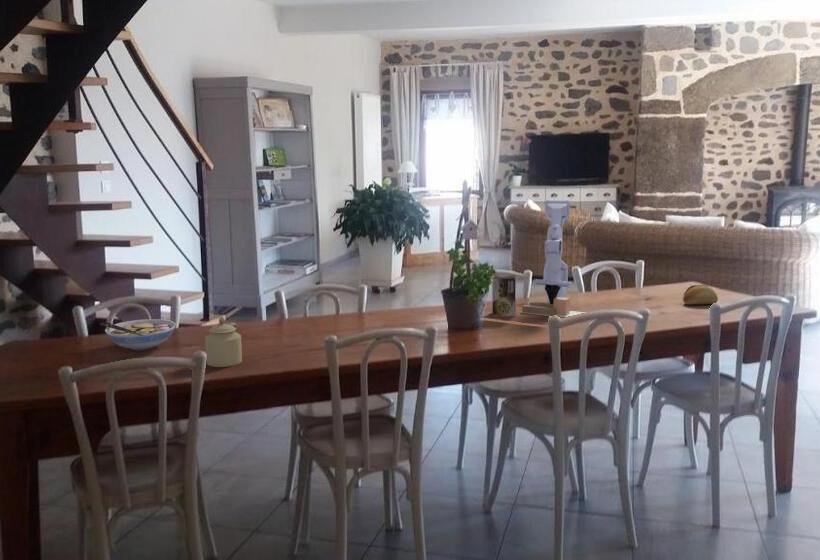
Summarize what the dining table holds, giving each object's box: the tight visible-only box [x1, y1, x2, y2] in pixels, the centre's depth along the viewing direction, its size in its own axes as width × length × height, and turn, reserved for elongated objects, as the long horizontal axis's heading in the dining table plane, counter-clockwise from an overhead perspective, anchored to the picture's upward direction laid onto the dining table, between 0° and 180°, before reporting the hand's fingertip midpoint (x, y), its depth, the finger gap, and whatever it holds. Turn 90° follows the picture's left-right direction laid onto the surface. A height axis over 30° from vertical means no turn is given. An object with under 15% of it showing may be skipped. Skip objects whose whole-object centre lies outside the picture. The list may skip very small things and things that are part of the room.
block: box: [554, 297, 571, 315], centre depth 295 cm, size 4×5×6 cm
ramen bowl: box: [99, 318, 176, 351], centre depth 256 cm, size 25×23×8 cm
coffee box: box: [491, 274, 517, 317], centre depth 294 cm, size 9×6×16 cm
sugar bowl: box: [204, 315, 243, 368], centre depth 238 cm, size 15×11×15 cm
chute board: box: [521, 301, 586, 318], centre depth 296 cm, size 12×24×4 cm, turn 59°
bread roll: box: [682, 284, 719, 306], centre depth 313 cm, size 10×15×8 cm, turn 103°
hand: (552, 304), depth 296 cm, fingers closed
